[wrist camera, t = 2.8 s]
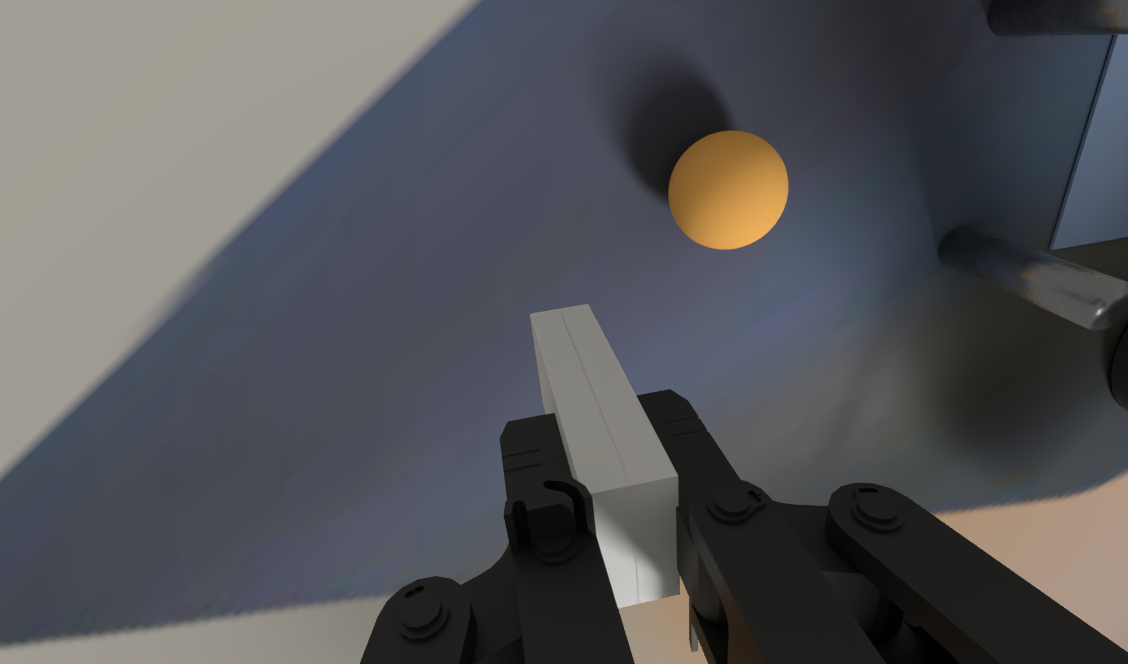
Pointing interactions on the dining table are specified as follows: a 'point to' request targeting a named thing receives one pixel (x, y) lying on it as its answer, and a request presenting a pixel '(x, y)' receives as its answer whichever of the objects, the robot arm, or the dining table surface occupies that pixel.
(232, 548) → the dining table surface
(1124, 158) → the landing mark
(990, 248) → the inner post
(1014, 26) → the outer post
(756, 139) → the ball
